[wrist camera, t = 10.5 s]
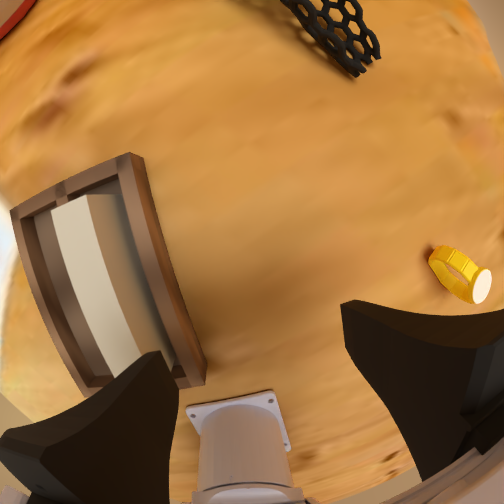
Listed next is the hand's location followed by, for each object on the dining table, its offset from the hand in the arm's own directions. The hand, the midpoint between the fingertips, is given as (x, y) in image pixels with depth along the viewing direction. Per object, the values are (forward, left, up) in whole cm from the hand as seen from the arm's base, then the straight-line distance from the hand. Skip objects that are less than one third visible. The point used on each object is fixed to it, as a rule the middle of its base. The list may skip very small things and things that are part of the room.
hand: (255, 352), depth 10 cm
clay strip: (+2, +8, -8) cm, 11 cm away
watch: (-4, -17, -10) cm, 20 cm away
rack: (+2, +10, -9) cm, 14 cm away
